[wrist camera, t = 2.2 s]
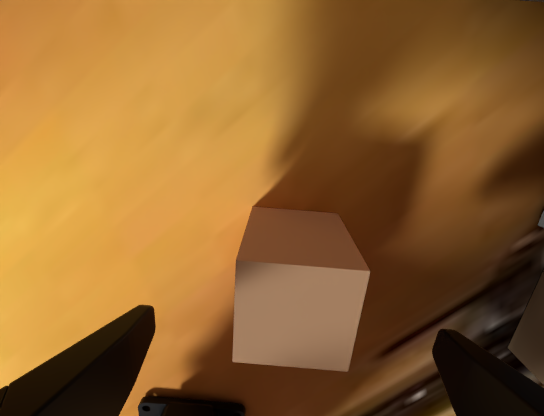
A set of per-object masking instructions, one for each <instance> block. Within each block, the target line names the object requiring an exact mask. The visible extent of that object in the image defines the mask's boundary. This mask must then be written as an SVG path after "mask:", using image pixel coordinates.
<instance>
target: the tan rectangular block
mask: <svg viewBox="0 0 544 416" xmlns="http://www.w3.org/2000/svg"><path fill="white" fill-rule="evenodd" d="M369 275H370V270H369V268H368V266H367V264H366V263H365V261H364V259H363V257H362V255H361V254H360V252H359V250H358V248H357V247H356V245H355V243H354V241H353V239H352V238H351V236H350V234H349V232H348V231H347V229H346V227H345V225H344V223H343V222H342V220H341V218H340V216H339V215H338V213H328V212H315V211H303V210H290V209H278V208H266V207H252V210H251V213H250V216H249V220H248V223H247V226H246V229H245V233H244V236H243V239H242V242H241V246H240V249H239V252H238V255H237V258H236V273H235V302H234V331H233V359H232V362H239V363H250V364H262V365H274V366H286V367H298V368H310V369H321V370H333V371H345V372H348V370H349V365H350V361H351V356H352V352H353V347H354V343H355V338H356V334H357V329H358V325H359V320H360V316H361V311H362V307H363V302H364V298H365V293H366V289H367V284H368V280H369Z"/></svg>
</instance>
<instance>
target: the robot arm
mask: <svg viewBox="0 0 544 416" xmlns="http://www.w3.org/2000/svg"><path fill="white" fill-rule="evenodd" d="M154 333H155V315H154V308H153V306H150V305H139V306H137V307H135V308H133V309H132V310H130V311H128V312H127V313H125V314H123V315H122V316H120V317H119V318H117V319H115V320H114V321H112V322H110V323H109V324H107V325H105V326H104V327H102V328H100V329H99V330H97V331H95V332H94V333H92V334H91V335H89V336H87V337H86V338H84V339H82V340H81V341H79V342H77V343H76V344H74V345H72V346H71V347H69V348H67V349H66V350H64V351H62V352H61V353H59V354H58V355H56V356H54V357H53V358H51V359H49V360H48V361H46V362H44V363H43V364H41V365H39V366H38V367H36V368H34V369H33V370H31V371H29V372H28V373H26V374H25V375H23V376H21V377H20V378H18V379H16V380H15V381H13V382H11V383H10V384H9V386H5V387H3V388H1V389H0V416H119V414H120V412H121V410H122V408H123V406H124V404H125V402H126V400H127V398H128V396H129V394H130V392H131V390H132V388H133V386H134V384H135V382H136V379H137V377H138V374H139V372H140V369H141V367H142V364H143V362H144V359H145V357H146V354H147V351H148V349H149V346H150V344H151V341H152V339H153V336H154ZM432 354H433V358H434V361H435V363H436V366H437V369H438V371H439V374H440V376H441V379H442V382H443V384H444V387H445V389H446V392H447V394H448V397H449V400H450V402H451V404H452V407H453V409H454V412H455V414H456V416H544V388H543V387H541V386H540V385H538V384H537V383H535V382H534V381H532V380H531V379H529V378H527V377H526V376H524V375H523V374H521V373H520V372H518V371H517V370H515V369H514V368H512V367H511V366H509V365H508V364H506V363H505V362H503V361H501V360H500V359H498V358H497V357H495V356H494V355H492V354H491V353H489V352H488V351H486V350H485V349H483V348H482V347H480V346H478V345H477V344H475V343H474V342H472V341H471V340H469V339H468V338H466V337H465V336H463V335H462V334H460V333H459V332H457V331H455V330H451V329H440V330H439V331H438V334H437V337H436V340H435V342H434V345H433V349H432ZM138 411H139V416H245V412H246V409H245V407H244V406H243V405H241V404H238V403H225V402H213V401H201V400H189V399H177V398H164V397H152V396H145V397H143V398H142V399H141V401H140V404H139V406H138Z"/></svg>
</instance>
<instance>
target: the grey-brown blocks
mask: <svg viewBox="0 0 544 416" xmlns="http://www.w3.org/2000/svg"><path fill="white" fill-rule="evenodd" d="M508 348H509V350H510V351H511V352H512V353H513V354H514V355H515V356H516V357H517V358H518V359H519V360H520V361H521V362H522V363H523V364H524V365H525V366H526V367H527V368H528V369H529V370H530V371H531V372H532V373H533V374H534V375H535V376H536V377H537V378H538V380H539V381H540V382H541V383H542V384H543V385H544V270H543V272H542V275H541V277H540V279H539V281H538V283H537V285H536V288H535V290H534V292H533V294H532V296H531V298H530V301H529V303H528V305H527V307H526V309H525V311H524V314H523V316H522V318H521V320H520V322H519V324H518V327H517V329H516V331H515V333H514V335H513V337H512V340H511V342H510V344H509V346H508Z"/></svg>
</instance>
